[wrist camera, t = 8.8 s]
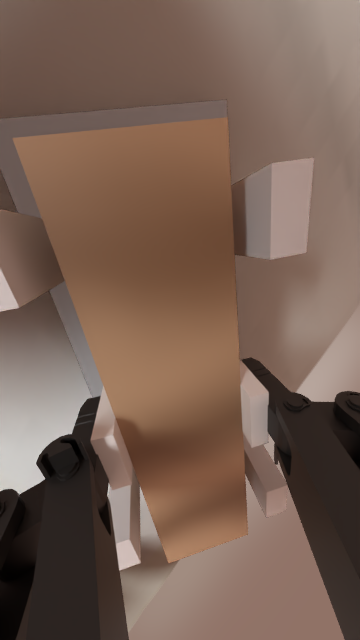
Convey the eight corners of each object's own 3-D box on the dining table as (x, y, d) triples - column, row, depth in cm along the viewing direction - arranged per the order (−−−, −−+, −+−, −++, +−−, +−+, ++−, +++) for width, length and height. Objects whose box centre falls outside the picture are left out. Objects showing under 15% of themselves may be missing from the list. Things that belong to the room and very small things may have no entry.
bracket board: (-4, 132, 11) (-522, -267, 2) (218, 112, 12) (404, -175, 4) (124, 462, 21) (116, 616, 12) (237, 429, 22) (300, 545, 14)
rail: (74, 188, 9) (12, 138, 5) (184, 174, 10) (228, 117, 5) (159, 475, 17) (168, 563, 12) (218, 456, 17) (248, 534, 13)
